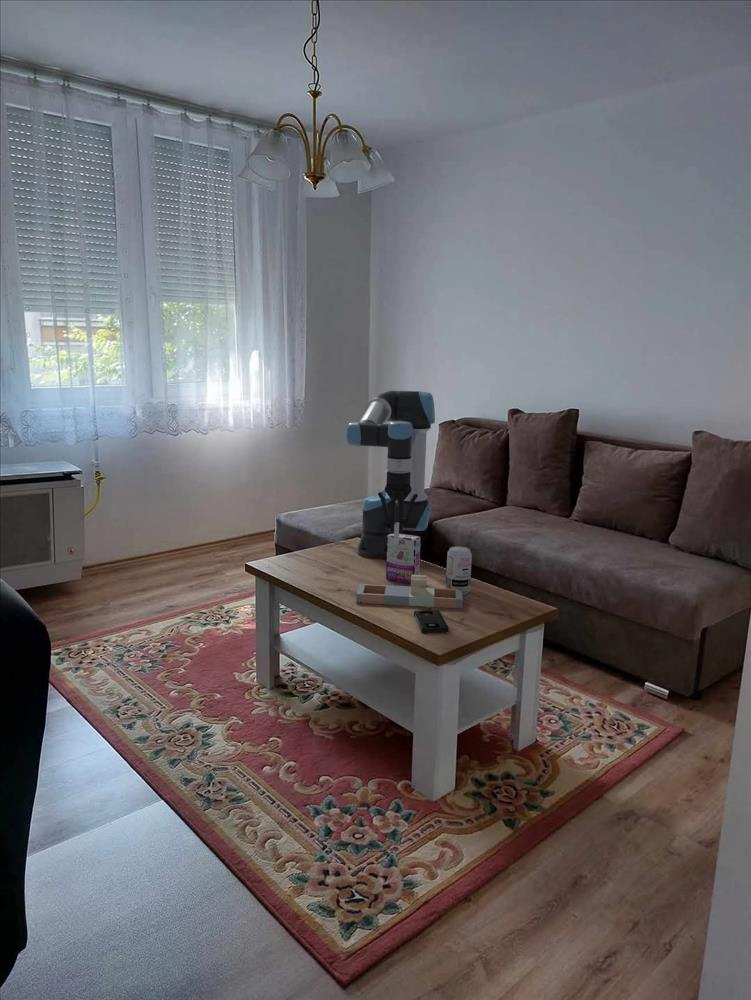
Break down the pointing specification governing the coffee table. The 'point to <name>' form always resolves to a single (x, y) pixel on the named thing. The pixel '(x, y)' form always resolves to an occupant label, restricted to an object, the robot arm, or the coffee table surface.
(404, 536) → the candy bar box
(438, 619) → the vhs tape
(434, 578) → the coffee table surface
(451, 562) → the supplement can
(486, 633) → the coffee table surface
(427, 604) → the trap runway
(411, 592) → the birch block
